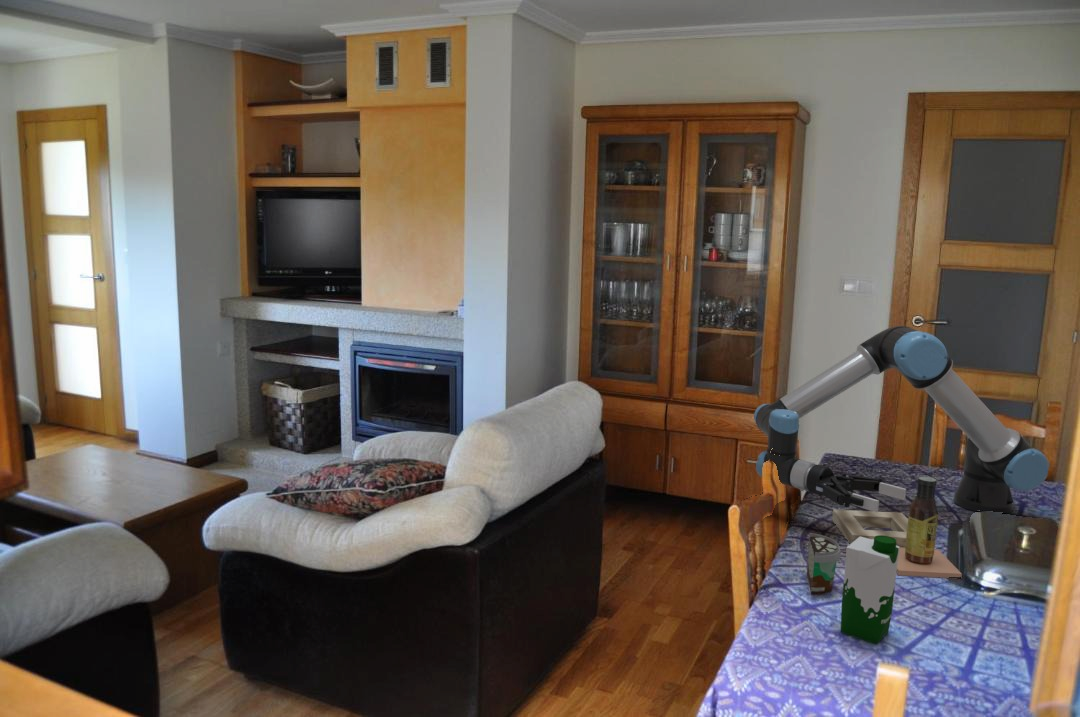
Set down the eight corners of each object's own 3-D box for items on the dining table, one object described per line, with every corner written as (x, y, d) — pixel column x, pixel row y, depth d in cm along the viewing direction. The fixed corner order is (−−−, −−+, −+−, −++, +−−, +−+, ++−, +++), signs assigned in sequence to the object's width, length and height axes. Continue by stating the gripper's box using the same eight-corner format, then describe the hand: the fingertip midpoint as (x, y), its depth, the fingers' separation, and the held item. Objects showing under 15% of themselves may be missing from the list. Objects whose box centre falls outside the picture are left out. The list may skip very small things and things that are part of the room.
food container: (841, 600, 182) (845, 556, 180) (811, 597, 183) (815, 553, 181) (833, 576, 194) (837, 534, 192) (805, 573, 195) (809, 532, 193)
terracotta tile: (937, 553, 208) (937, 549, 208) (961, 578, 194) (961, 573, 194) (878, 551, 209) (879, 546, 209) (898, 575, 195) (898, 570, 195)
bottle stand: (900, 523, 228) (901, 512, 227) (925, 550, 210) (927, 538, 210) (832, 520, 229) (833, 509, 228) (851, 546, 211) (852, 535, 211)
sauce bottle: (929, 567, 197) (938, 485, 193) (901, 560, 201) (909, 479, 197) (936, 558, 202) (944, 478, 199) (908, 551, 206) (916, 472, 202)
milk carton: (880, 648, 163) (890, 549, 159) (833, 632, 168) (842, 536, 165) (894, 631, 169) (905, 536, 166) (849, 616, 175) (858, 524, 171)
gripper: (836, 482, 229) (914, 504, 214) (784, 501, 213) (864, 527, 197) (839, 455, 228) (917, 475, 212) (786, 473, 212) (867, 496, 196)
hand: (891, 500), depth 205 cm, fingers open, 13 cm apart
